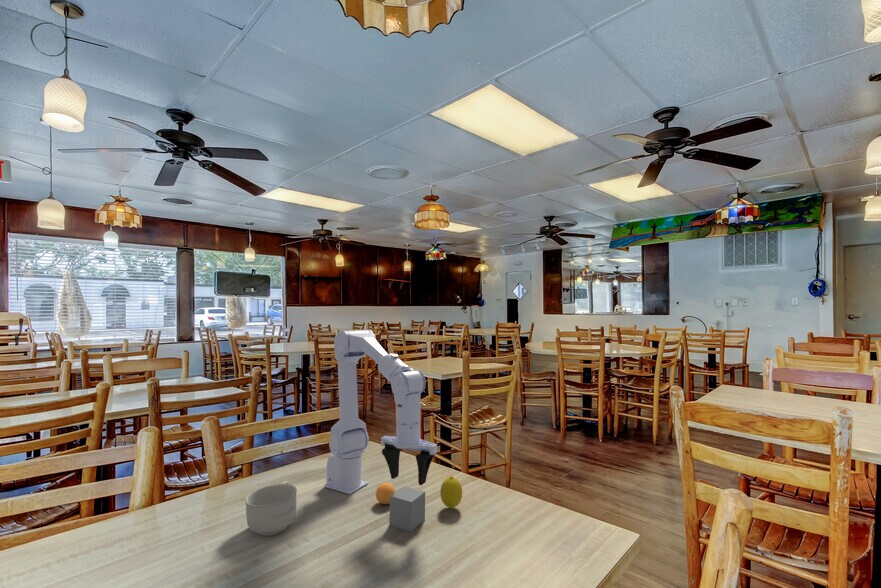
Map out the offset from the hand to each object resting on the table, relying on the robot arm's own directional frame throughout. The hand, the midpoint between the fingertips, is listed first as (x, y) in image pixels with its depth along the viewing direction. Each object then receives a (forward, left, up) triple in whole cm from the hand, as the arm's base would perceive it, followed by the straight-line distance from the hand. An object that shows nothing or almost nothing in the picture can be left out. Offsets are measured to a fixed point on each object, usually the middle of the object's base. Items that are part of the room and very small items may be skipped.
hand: (408, 480), depth 96 cm
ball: (-10, +5, -7) cm, 13 cm away
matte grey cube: (0, 0, -10) cm, 10 cm away
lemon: (+6, +11, -10) cm, 16 cm away
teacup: (-26, -16, -10) cm, 32 cm away
